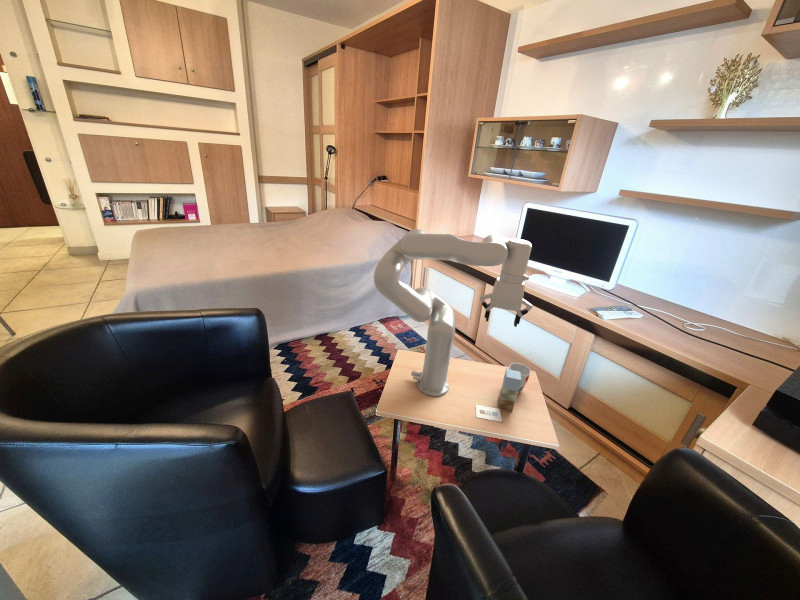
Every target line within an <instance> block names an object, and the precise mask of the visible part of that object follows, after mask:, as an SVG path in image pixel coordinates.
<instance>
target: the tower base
mask: <svg viewBox="0 0 800 600" xmlns="http://www.w3.org/2000/svg"><path fill="white" fill-rule="evenodd" d="M501 384H502V385H501V389H500V392H499V395H498V398H497V399H498V400H497V409H500V411H505V412H507V413H513V410H514V407H515V403H516V401H517V397H518V394H519V393H518V391H514V390H510V389H506V388H504V384H503V383H501Z"/></svg>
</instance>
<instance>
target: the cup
mask: <svg viewBox="0 0 800 600" xmlns="http://www.w3.org/2000/svg"><path fill="white" fill-rule="evenodd" d="M508 369H510V370H514V371H519V372H521V383H520V386H519V390H518V394H520V393H521V392H522V391H523V389H524V388H525V386H526V384H527V383H528V380H529V378H530V375H531V372H532V371H531V369H530V367H528V366H527V365H525V364H523V363H520V362H512V363H510V364H509V366H508Z"/></svg>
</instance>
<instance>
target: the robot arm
mask: <svg viewBox="0 0 800 600" xmlns="http://www.w3.org/2000/svg"><path fill="white" fill-rule="evenodd" d="M532 248H533V245H532V243H531V242H530V241H529V240H525V239H521V238H509V237H504V236H501V235H498V234H491V235H490V234H489V235H487V236H486V237H484V238H483V239H482V240H481V242H479V241H471V240H470V241H469V240H464V239H462V238H460V237H458V236H456V235H454V234H450V233H426V232H425V231H424V230H422V229H418V228H413V229H411V230H409V231H408V232H407V233H406V234H404V236H402V238H400V239H399V240H398V241H397V242H396V243H395V244H394V245H393V246H392V247H391V248H389V249H388V250H387V251H386V252H385V253H384V254H383V256H382V257H381V258H380V260H378V263H377V264H376V266H375V269H374V274H373V283H374V286H375V288H376V290H377V292H379V294H380V295H382V296H383V297H384V298H385V299H387V300H388V301H390V303H392V304H393V305H395V306H396V307H397V308H398V309H399V310H401V311H402V312H403V313H404V314H405V315H406V316H408V317H409V318H410V319H412V320H413V321H415V322H417V323H425V322H426V321H428V320H429V323H428V327H427V336H426V344H425V351H424V353H425V354H424V360H423V368H422V371H415V370H412V371H411V376H412V380H415V381H417V382H416V385H417V388H418V390H419V391H420V392H422V393H423V394H425V395H427V396H431V397H440V396H444V395H445V394H446V393H448V391H449V388H450V385H449V382H448V380H447V377H448V372H449V371H448V370H449V365H450V359H451V354H452V349H453V348H452V347H453V343H454V339H455V334H456V315H455V311H454V310H453V308H452V307H451V306H450V305H449V304H448V303H447V302H445V301H444V300H443V299H441V298H440V297H439V296H438V295H436V294H435V293H434V292H433V291H431V290H430V289H428V288H424V287H418V288H415V289H414V288H412V287H411V286H410V285H409V284H408V283H405V282H404V281H401V280H400V275H401V273H402V272H403V269H404V268H405V267H406V266H407V265H408V264H409V263H410V262H412V261H413V260H425V261H427V260H430V261H449V262H450V261H451V262H452V263H458V264H462V265H467V266H473V267H474V266H475V267H495V266H500V265H501V270H500V275H499V277H497V278H496V280H495V282H494V284H493V287H492V292H491V293H486V294H483V295H480V297H479V299H480V302H481V305H482V306H483V308H484V309H485V312H484V318H485V322H489V319H490V314H491V310H492V309H493V308H495V309H502V310H507V311H512V312H516V314H515V317H514V321H513V326H514V327H515V328H517V326H518V325H520V322H521V318H522V317H523V316H525V315H526V314H528V312H530V310H532V308H533V304H531V303H530V302H529V301H527V300H526V299H524V296H525V294H524V293H525V288H526V287H525V285H526V283H525V281H529V278H530V276H528V275H526V272H527V267H528V264H529V259H530V256H531V252H532ZM488 299H490V300H489V301H490V302H489V303H487V302H486V300H488ZM522 305H524V306H525V308H523V309H521V308H522Z"/></svg>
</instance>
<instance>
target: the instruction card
mask: <svg viewBox="0 0 800 600" xmlns="http://www.w3.org/2000/svg"><path fill="white" fill-rule="evenodd" d="M501 411H502V410H500V409H498V408H495V407H490V406H484V405H479V404H475V418H478V419H483V420H489V421H493V422H499V423H503V419H502V414H501Z"/></svg>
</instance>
